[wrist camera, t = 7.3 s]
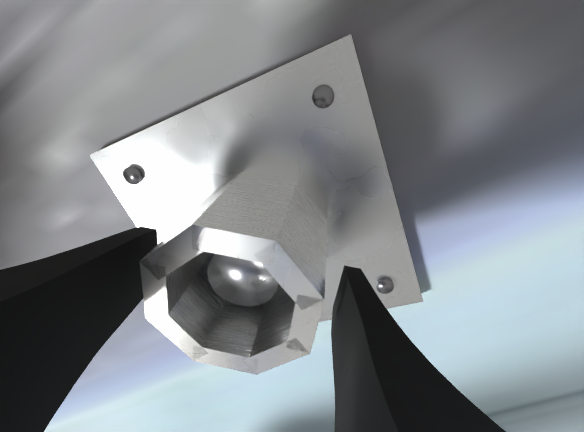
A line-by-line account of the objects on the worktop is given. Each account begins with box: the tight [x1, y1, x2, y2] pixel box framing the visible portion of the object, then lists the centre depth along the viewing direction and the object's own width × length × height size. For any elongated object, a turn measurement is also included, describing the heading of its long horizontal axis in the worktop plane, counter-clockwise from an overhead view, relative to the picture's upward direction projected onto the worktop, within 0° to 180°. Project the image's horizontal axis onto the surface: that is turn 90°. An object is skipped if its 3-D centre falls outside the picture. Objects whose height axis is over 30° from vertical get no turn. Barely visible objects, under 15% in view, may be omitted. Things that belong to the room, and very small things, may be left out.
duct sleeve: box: [140, 171, 327, 375], centre depth 11 cm, size 6×6×5 cm
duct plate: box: [90, 34, 423, 322], centre depth 12 cm, size 12×12×4 cm
